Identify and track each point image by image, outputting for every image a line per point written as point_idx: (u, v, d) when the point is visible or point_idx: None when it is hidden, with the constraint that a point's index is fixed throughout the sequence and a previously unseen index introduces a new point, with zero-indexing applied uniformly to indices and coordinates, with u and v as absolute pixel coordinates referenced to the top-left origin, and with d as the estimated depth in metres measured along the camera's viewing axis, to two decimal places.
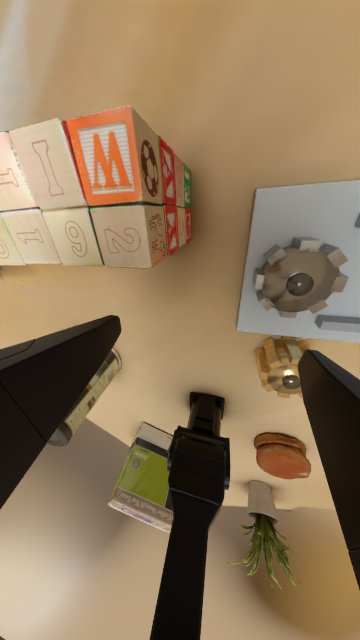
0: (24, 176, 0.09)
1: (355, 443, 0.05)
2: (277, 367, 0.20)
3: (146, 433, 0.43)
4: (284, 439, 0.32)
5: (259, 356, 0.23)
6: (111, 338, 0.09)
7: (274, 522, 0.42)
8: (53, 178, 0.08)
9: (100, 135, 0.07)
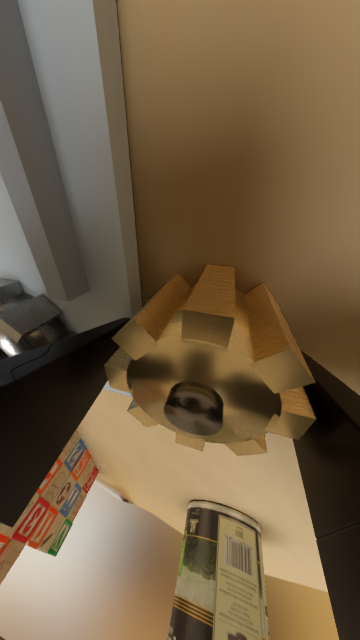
0: None
1: (323, 435, 0.05)
2: (149, 416, 0.07)
3: None
4: None
5: None
6: None
7: None
8: None
9: None
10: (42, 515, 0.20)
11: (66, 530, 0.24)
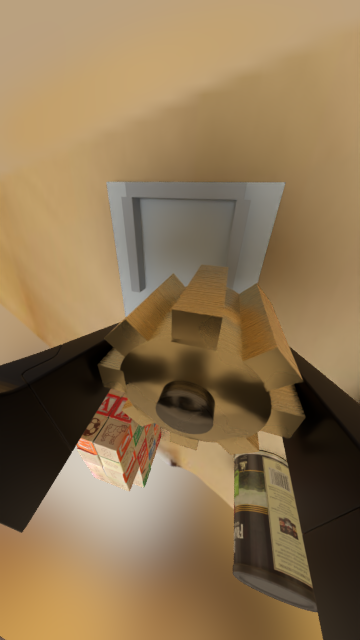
0: (93, 463, 0.23)
1: (309, 431, 0.05)
2: (143, 415, 0.07)
3: None
4: None
5: None
6: None
7: None
8: (91, 458, 0.22)
9: (78, 441, 0.21)
10: (144, 451, 0.29)
11: (148, 472, 0.34)
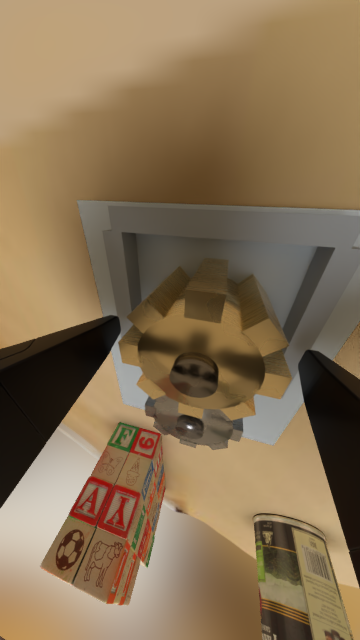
0: None
1: (356, 443, 0.05)
2: (156, 387, 0.08)
3: None
4: None
5: None
6: (111, 338, 0.09)
7: None
8: None
9: None
10: (147, 534, 0.23)
11: (151, 544, 0.28)
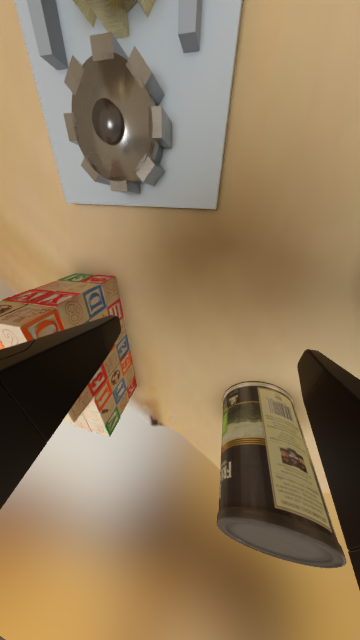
0: None
1: (355, 443, 0.05)
2: None
3: None
4: None
5: (95, 11, 0.10)
6: (111, 338, 0.09)
7: None
8: None
9: None
10: (103, 382, 0.22)
11: (116, 419, 0.27)
